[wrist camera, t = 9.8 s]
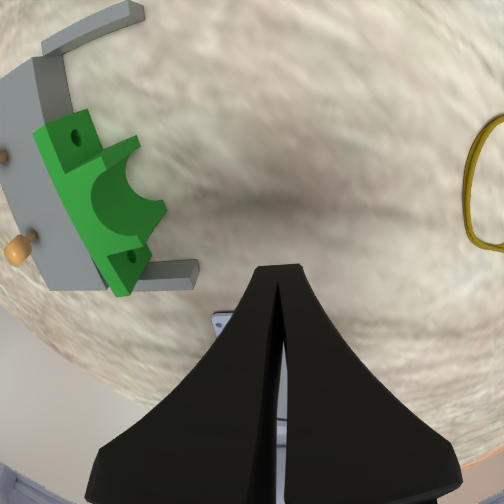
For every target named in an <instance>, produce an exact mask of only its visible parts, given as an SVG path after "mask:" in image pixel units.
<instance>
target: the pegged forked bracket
mask: <svg viewBox="0 0 504 504" xmlns="http://www.w3.org/2000/svg"><path fill="white" fill-rule="evenodd" d="M143 20H145V17H144V10H143V5H140V4H138V3H135V2H133V1H130V0H125V1H123V2H120V3H118V4H115V5H113V6H110V7H108V8H106V9H103V10H101V11H99V12H97V13H94V14H92V15H90V16H88V17H86V18H84V19H82V20H80V21H78V22H76V23H74V24H72V25H70V26H68V27H67V28H65V29H63V30H61V31H59V32H57V33H56V34H54V35H52V36H51V37H49V38H47V39H46V40H44V41H42V42H41V45H42V53H43V56H40V57H32V58H31V59H29V60H27V61H26V62H24V63H23V64H21V65H20V66H18V67H17V68H16V69H14V70H13V71H11V72H10V73H8V74H7V75H6V76H4V77H3V78H2V79H0V182H1V185H2V188H3V191H4V194H5V196H6V199H7V202H8V204H9V207H10V209H11V212H12V214H13V217H14V219H15V221H16V224H17V226H18V228H19V231H20V233H21V235H17V236H16V237H15V238H14V239H13V240H12V241H11V242H10V243H9V244H8V245H7V246H6V247H5V248H4V254H5V257H6V259H7V260H8V262H9V263H10V264H11V265H13V266H14V267H19V266H20V265H21V264H22V263H23V262H24V261H25V259H26V258H27V257H28V256H29V255H30V254H31V256H32V258H33V260H34V262H35V264H36V266H37V268H38V270H39V272H40V274H41V276H42V277H43V279H44V281H45V283H46V285H47V286H48V288H49V290H50V291H94V290H107V289H108V287H109V285H108V284H107V282H106V280H105V279H104V277H103V275H102V274H101V272H100V271H99V269H98V267H97V266H96V264H95V262H94V261H93V259H92V257H91V255H90V254H89V252H88V250H87V249H86V247H85V245H84V243H83V241H82V240H81V238H80V236H79V234H78V232H77V230H76V229H75V227H74V225H73V223H72V221H71V219H70V217H69V215H68V213H67V211H66V209H65V207H64V205H63V203H62V201H61V199H60V197H59V195H58V193H57V191H56V189H55V187H54V184H53V182H52V180H51V178H50V175H49V173H48V171H47V169H46V166H45V164H44V162H43V159H42V157H41V154H40V152H39V149H38V147H37V144H36V142H35V139H34V137H33V134H32V133H34V132H35V131H36V130H38V129H39V128H41V127H42V126H43V125H45V124H47V123H50V122H52V121H55V120H58V119H60V118H63V117H66V116H68V115H71V114H73V109H72V105H71V100H70V96H69V91H68V85H67V80H66V75H65V69H64V63H63V56H62V54H64V53H66V52H68V51H70V50H72V49H74V48H76V47H78V46H80V45H83V44H85V43H87V42H89V41H91V40H93V39H96V38H98V37H100V36H103V35H105V34H108V33H110V32H112V31H115V30H118V29H120V28H123V27H126V26H128V25H131V24H134V23H137V22H140V21H143ZM198 274H199V268H198V264H197V260H183V261H168V262H154V263H147V265H146V266H145V268H144V270H143V272H142V274H141V276H140V277H139V279H138V281H137V283H136V285H135V287H134V289H133V291H132V292H136V291H170V290H194V287H195V284H196V280H197V277H198Z"/></svg>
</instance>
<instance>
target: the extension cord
mask: <svg viewBox="0 0 504 504" xmlns="http://www.w3.org/2000/svg"><path fill="white" fill-rule="evenodd" d="M502 122H504V116H501V117H499V118H497V119H496V120H495V121H493V122H492V123H490V124H489V125H488V126H487V127H485V128H484V129H483V130H482V132H481V133H480V134H479V135H478V137H477V138H476V140H475V142H474V144H473V146H472V147H471V150H470V153H469V155H468V159H467V163H466V168H465V173H464V182H463V212H464V222H465V229H466V233H467V236H468V238H469V239H470V241H471V242H472V243H473V244H474V245H476V246H477V247H479V248H481V249H486V250H493V251H498V252H502V253H504V249H503V248H502V247H504V243H502V244H499V245H494V246H491V245H488V244H485V243H483V242H481V241H480V240H479V239H478V238H477V237H476V236H475V234H474V232H473V229H472V225H471V216H470V196H471V186H472V179H473V175H474V170H475V166H476V163H477V160H478V157H479V154H480V152H481V149H482V147H483V145H484V143H485V141H486V139H487V137H488V136H489V134H490V133H491V132H492V130H493V129H494V128H495V127H496V126H497V125H498V124H500V123H502ZM475 150H476V151H475ZM473 155H474V156H473ZM472 158H473V159H472ZM471 162H472V163H471Z"/></svg>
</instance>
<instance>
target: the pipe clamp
mask: <svg viewBox="0 0 504 504" xmlns="http://www.w3.org/2000/svg"><path fill="white" fill-rule="evenodd" d="M32 134H33V137H34V139H35V142H36V144H37V147H38V149H39V152H40V154H41V157H42V159H43V162H44V164H45V166H46V169H47V171H48V173H49V175H50V178H51V180H52V182H53V184H54V187H55V189H56V191H57V193H58V195H59V197H60V199H61V201H62V203H63V205H64V207H65V209H66V211H67V213H68V215H69V217H70V219H71V221H72V223H73V225H74V227H75V229H76V230H77V232H78V234H79V236H80V238H81V240H82V241H83V243H84V245H85V247H86V249H87V250H88V252H89V254H90V255H91V257H92V259H93V261H94V262H95V264H96V266H97V267H98V269H99V271H100V272H101V274H102V275H103V277H104V279H105V280H106V282H107V284H108V285H109V287H110V288H111V290H112V291H113V293H114V294H115V296H116V297H123V296H129V295H131V293H132V291H133V289H134V287H135V285H136V283H137V281H138V279H139V277H140V276H141V274H142V272H143V270H144V268H145V266H146V265H147V263H148V261H149V259H150V257H151V256H152V254H151V252H150V251H149V249H148V247H147V245H146V241H147V240H148V238H149V236H150V235H151V233H152V232H153V230H154V229H155V227H156V226H157V224H158V223H159V221H160V220H161V218H162V216H163V215H164V213H165V212H166V210H167V209H166V207H165V204H164V202H163V200H159V201H151V200H147V199H144V198H142V197H140V196H139V195H137V194H136V193H135V192H134V191H133V190H132V189H131V188H130V186H129V184H128V182H127V180H126V176H125V165H126V161H127V159H128V157H129V155H130V154H131V153H132V152H133V151H135V150H136V149H138V148H139V147H141V145H140V143H139V140H138V138H137V135H136V136H134V137H131V138H129V139H127V140H124V141H122V142H120V143H117V144H115V145H113V146H111V147H109V148H106V149H104V150H103V148H102V145H101V143H100V140H99V138H98V135H97V133H96V130H95V127H94V125H93V122H92V120H91V117H90V114H89V111H88V109H86V110H83V111H80V112H77V113H74V114H71V115H68V116H66V117H63V118H60V119H58V120H55V121H52V122H50V123H47V124H45V125H43V126H42V127H41V128H39V129H38V130H36V131H35V132H34V133H32Z"/></svg>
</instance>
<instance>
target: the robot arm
mask: <svg viewBox="0 0 504 504" xmlns="http://www.w3.org/2000/svg"><path fill="white" fill-rule="evenodd" d="M218 323H220V324H218ZM212 324H213V327H214V330H215V333H216V336H217V339H216V340H215V342H214V343H213V344H212V346H211V347H210V348H209V350H208V351H207V352H206V354H205V355H204V356H203V357H202V359H201V360H200V361H199V362H198V363H197V365H196V366H195V367H194V368H193V369H192V370H191V372H190V373H189V374H188V375H187V376H186V377H185V378H184V379H183V380H182V381H181V382H180V384H179V385H178V386H177V387H176V388H175V389H174V390H173V391H172V392H171V393H170V394H169V395H168V396H167V397H165V398H164V399H163V400H162V401H161V402H160V403H159V404H158V405H156V406H155V407H154V408H153V409H152V410H151V411H150V412H149V413H147V414H146V415H145V416H144V417H143V418H142V419H141V420H139V421H138V422H137V423H135V424H134V425H133V426H132V427H130V428H129V429H127V430H126V431H124V432H123V433H122V434H120V435H119V436H117V437H116V438H115V439H113V440H112V441H111V442H109V443H108V444H106V445H105V446H103V447H101V448H100V449H99V451H98V454H97V456H96V459H95V461H94V463H93V467H92V471H91V474H90V478H89V482H88V486H87V489H86V493H85V497H84V498H85V499H86V501H87V502H90V503H92V504H437V498H439V497H441V496H443V495H445V494H448V493H450V492H452V491H454V490H456V489H457V488H459V487H460V486H461V484H462V483H463V479H462V474H461V469H460V465H459V462H458V459H457V457H456V454H455V452H454V449H453V447H452V444H451V443H450V442H449V441H448V440H446V439H445V438H444V437H442V436H441V435H440V434H438V433H437V432H436V431H434V430H433V429H432V428H430V427H429V426H428V425H427V424H425V423H424V422H423V421H422V420H421V419H419V418H418V417H417V416H416V415H415V414H414V413H412V412H411V411H410V410H409V409H408V408H407V407H406V406H404V405H403V404H402V403H401V402H400V401H399V400H398V399H397V398H396V397H395V396H394V395H393V394H392V393H391V392H390V391H389V390H388V389H387V388H386V387H385V386H384V385H383V384H382V383H381V382H380V381H379V380H378V379H377V378H376V377H375V376H374V375H373V374H372V373H371V372H370V371H369V369H368V368H367V367H366V366H365V365H364V364H363V363H362V362H361V360H360V359H359V358H358V357H357V356H356V354H355V353H354V352H353V351H352V349H351V348H350V347H349V346H348V344H347V343H346V342H345V340H344V339H343V338H342V336H341V335H340V333H339V332H338V331H337V329H336V328H335V326H334V325H333V323H332V322H331V320H330V319H329V317H328V316H327V314H326V313H325V311H324V309H323V308H322V306H321V304H320V303H319V301H318V299H317V298H316V296H315V294H314V292H313V290H312V288H311V286H310V284H309V282H308V280H307V278H306V276H305V273H304V270H303V267H302V266H301V265H300V264H299V263H298V264H284V265H270V266H258V267H257V268H256V269H255V270H254V273H253V276H252V278H251V280H250V283H249V285H248V287H247V289H246V291H245V293H244V295H243V297H242V299H241V300H240V302H239V304H238V306H237V307H236V309H235V311H234V313H216V314H214V315H213V316H212ZM0 504H76V503H73V502H71V501H69V500H67V499H65V498H63V497H60V496H59V495H57V494H54V493H53V492H50V491H49V490H47V489H45V487H44V486H42V485H40V484H38V483H36V482H35V481H33V480H31V479H29V478H28V477H26V476H24V475H22V474H21V473H19V472H17V471H15V470H13V469H11V468H10V467H8V466H6V465H5V464H4V463H2V462H0ZM476 504H504V489H503V490H501V491H500V492H498V493H496V494H494V495H492V496H490V497H488V498H486V499H484V500H482V501H480V502H478V503H476Z"/></svg>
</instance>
